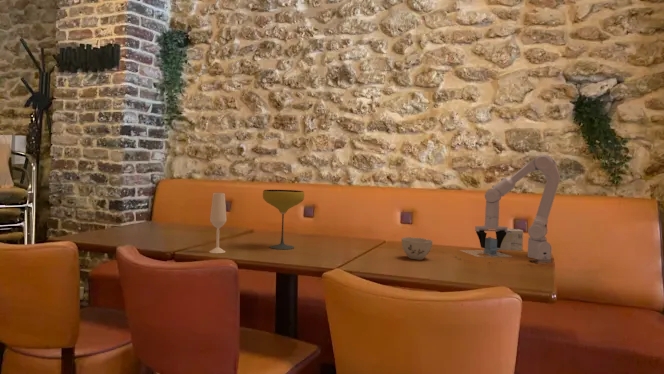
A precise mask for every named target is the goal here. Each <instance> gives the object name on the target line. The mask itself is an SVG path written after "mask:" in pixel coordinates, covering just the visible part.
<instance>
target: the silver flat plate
mask: <svg viewBox="0 0 664 374" xmlns="http://www.w3.org/2000/svg"><path fill="white" fill-rule="evenodd" d="M459 251H460V252H463V253H466V254H468V255H472V256H474V257H477V258H513V257H514V256H512V255H509V254H506V253H502V252H499V251H497V253H488V252H485V251H484V249H483V250H482V249H474V250H473V249H469V250H467V249H464V250H463V249H460V250H459ZM480 254H481V255H480Z"/></svg>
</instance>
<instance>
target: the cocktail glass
mask: <svg viewBox="0 0 664 374" xmlns="http://www.w3.org/2000/svg"><path fill="white" fill-rule="evenodd" d="M262 199H263V200H264V201H265V202H266V203H268V204H269V205H271V206H273V207H274V208H275V209H277V211H279V213H280V214H281V219H282V220H281V238H280V243H279V244H275V245H269V248H270V249H271V250H293V249H295V246H293V245H288V244H285V241H284V220H285V219H284V218H285V217H284V215H285V214H286V213H287V211H289V210H290V209H292V208H293V207H295V206H297V205H299V204H301V203H302V202H303V201H304V199H305V191H303V190H295V189H291V190H290V189H264V190H263V191H262Z"/></svg>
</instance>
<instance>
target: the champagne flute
mask: <svg viewBox="0 0 664 374" xmlns="http://www.w3.org/2000/svg"><path fill="white" fill-rule="evenodd" d="M210 207H211V209H210V215H209V221H210V224H211V225H212V226H213V227H214V228H216V234H215V236H216V237H215V239H216V244H215V247H214V248H212V249H211V250H209V253H211V254H224V253H226V250H224V249H222V248H221V247H220V229H221V228H222V227H224V225H225V224H226V223H227V219H228V218H227V206H226V194H225V192H213V193H212V198H211V206H210Z"/></svg>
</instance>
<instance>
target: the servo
mask: <svg viewBox="0 0 664 374" xmlns="http://www.w3.org/2000/svg"><path fill="white" fill-rule="evenodd" d="M483 250H484V251H485V252H488V253H497V252H498V251H500V250H499V249H498V248H497V239H496V238H494V237H492V236H487V237H486V239H485V248H483Z"/></svg>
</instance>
